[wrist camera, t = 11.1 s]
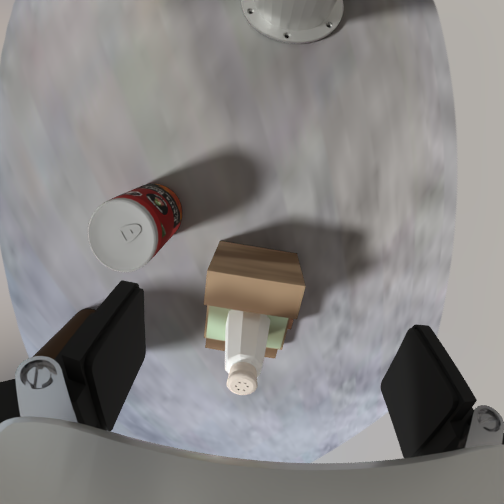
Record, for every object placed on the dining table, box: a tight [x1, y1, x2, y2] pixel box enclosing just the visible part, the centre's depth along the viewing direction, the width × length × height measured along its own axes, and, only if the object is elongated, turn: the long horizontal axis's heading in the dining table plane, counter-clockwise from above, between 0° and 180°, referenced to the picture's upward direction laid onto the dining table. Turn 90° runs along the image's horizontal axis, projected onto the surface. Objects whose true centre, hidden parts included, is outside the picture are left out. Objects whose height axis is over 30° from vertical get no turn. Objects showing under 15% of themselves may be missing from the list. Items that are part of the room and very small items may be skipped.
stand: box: [204, 241, 305, 358], centre depth 38 cm, size 15×11×10 cm
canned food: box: [88, 184, 182, 272], centre depth 34 cm, size 8×8×11 cm
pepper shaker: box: [225, 310, 270, 395], centre depth 32 cm, size 5×5×11 cm
